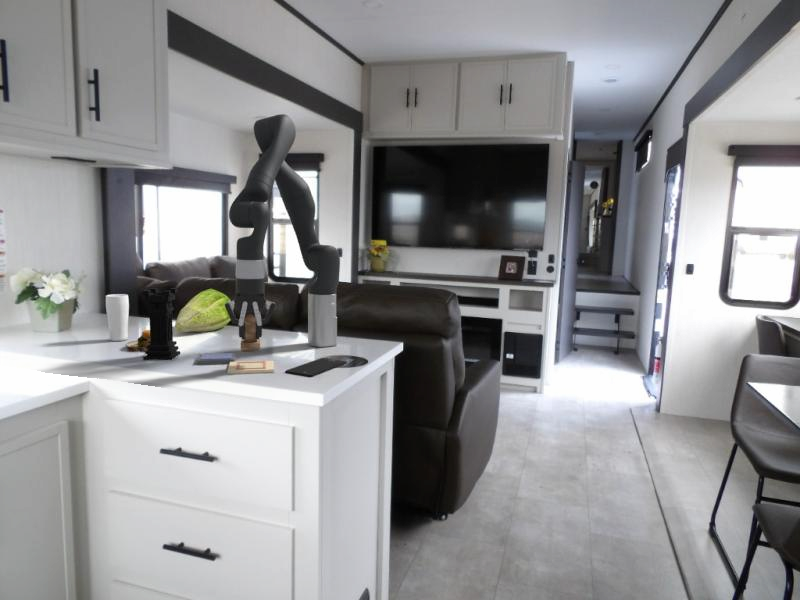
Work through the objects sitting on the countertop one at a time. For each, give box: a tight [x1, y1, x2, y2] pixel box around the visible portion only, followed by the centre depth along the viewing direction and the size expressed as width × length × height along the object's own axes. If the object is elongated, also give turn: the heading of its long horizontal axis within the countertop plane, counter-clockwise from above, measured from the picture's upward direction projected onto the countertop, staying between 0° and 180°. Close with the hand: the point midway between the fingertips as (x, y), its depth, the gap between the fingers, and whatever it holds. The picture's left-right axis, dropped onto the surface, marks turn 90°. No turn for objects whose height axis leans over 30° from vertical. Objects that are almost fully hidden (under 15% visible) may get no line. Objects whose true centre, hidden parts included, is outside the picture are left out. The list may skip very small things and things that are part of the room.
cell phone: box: [285, 357, 348, 378], centre depth 156 cm, size 9×18×1 cm, turn 154°
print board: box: [227, 360, 275, 375], centre depth 153 cm, size 12×10×1 cm
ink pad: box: [196, 352, 237, 366], centre depth 160 cm, size 10×8×1 cm
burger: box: [124, 329, 150, 353], centre depth 174 cm, size 12×12×8 cm
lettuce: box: [174, 288, 234, 333], centre depth 204 cm, size 15×24×16 cm
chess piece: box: [142, 287, 181, 361], centre depth 162 cm, size 8×8×20 cm
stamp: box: [240, 313, 261, 353], centre depth 152 cm, size 5×5×10 cm
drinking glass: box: [105, 293, 130, 342], centre depth 183 cm, size 7×7×15 cm
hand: (250, 338), depth 152 cm, fingers closed on stamp, 3 cm apart
